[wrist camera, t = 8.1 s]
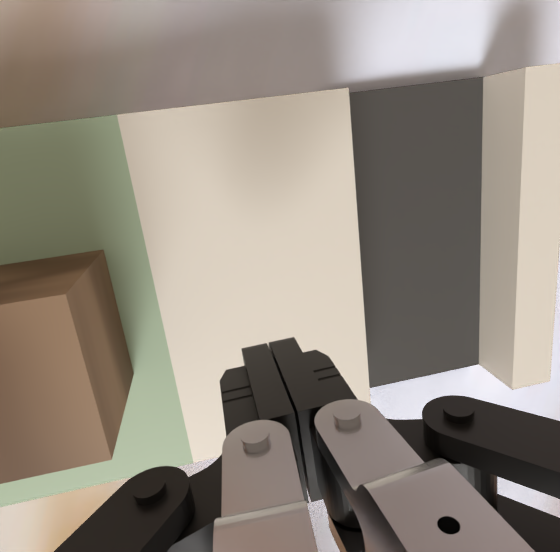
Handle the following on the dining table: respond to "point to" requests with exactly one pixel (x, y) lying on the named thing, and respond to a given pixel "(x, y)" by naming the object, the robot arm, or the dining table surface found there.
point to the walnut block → (60, 365)
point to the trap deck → (300, 241)
